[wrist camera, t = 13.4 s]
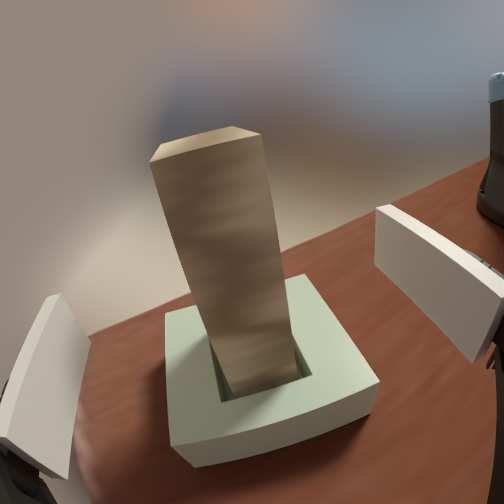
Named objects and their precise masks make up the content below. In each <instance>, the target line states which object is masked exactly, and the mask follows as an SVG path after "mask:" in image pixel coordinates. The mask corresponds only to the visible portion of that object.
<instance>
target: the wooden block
mask: <svg viewBox="0 0 504 504" xmlns="http://www.w3.org/2000/svg"><path fill="white" fill-rule="evenodd" d="M150 167H151V170H152V174H153V177H154V181H155V184H156V187H157V191H158V194H159V197H160V201H161V204H162V207H163V210H164V213H165V217H166V220H167V223H168V226H169V229H170V232H171V236H172V239H173V242H174V244H175V248H176V250H177V253H178V256H179V259H180V262H181V265H182V268H183V271H184V273H185V276H186V279H187V282H188V285H189V287H190V290H191V293H192V295H193V298H194V301H195V303H196V306H197V309H198V311H199V314H200V316H201V319H202V322H203V324H204V327H205V329H206V332H207V334H208V337H209V339H210V342H211V344H212V347H213V349H214V351H215V354H216V356H217V359H218V361H219V363H220V366H221V368H222V370H223V373H224V375H225V377H226V380H227V382H228V384H229V386H230V389H231V391H232V393H233V395H234V398H235V399H238V398H241V397H245V396H249V395H252V394H256V393H259V392H263V391H266V390H269V389H272V388H276V387H279V386H282V385H285V384H288V383H291V382H294V381H297V380H298V377H297V369H296V361H295V353H294V345H293V337H292V330H291V322H290V315H289V308H288V301H287V293H286V286H285V280H284V273H283V266H282V259H281V253H280V247H279V240H278V233H277V227H276V221H275V215H274V208H273V202H272V197H271V191H270V184H269V178H268V173H267V168H266V161H265V156H264V150H263V145H262V139H261V135H260V134H258V133H254V132H251V131H247V130H244V129H240V128H237V127H233V126H232V127H227V128H223V129H218V130H214V131H210V132H205V133H201V134H197V135H193V136H190V137H186V138H182V139H178V140H175V141H171V142H168V143H164V144H161V145H160V147H159V148H158V150H157V151H156V153H155V154H154V156H153V157H152V159H151V161H150Z"/></svg>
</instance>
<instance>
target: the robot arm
mask: <svg viewBox="0 0 504 504" xmlns="http://www.w3.org/2000/svg"><path fill="white" fill-rule="evenodd" d="M488 84H489V100H488V103H490V160H489V164H488V167H487V169H486V172H485V175H484V177H483V180H482V182H481V185H480V187H479V190H478V194H477V203H476V204H477V207H478V209H479V210H480V212H481V213H482V214H483V215H485V216H486V217H487V218H489V219H490V220H492V221H493V222H495V223H497V224H499V225H501V226H503V227H504V73H495V74H493V75H492V76H491V77H490V78H489V83H488ZM374 265H375V266H377V267H378V268H379V269H380V270H381V271H382V272H383V273H384V274H385V275H386V276H387V277H388V278H389V279H390V280H391V281H392V282H393V283H395V284H396V285H397V286H398V287H399V288H400V289H401V290H402V291H403V292H404V293H405V294H406V295H407V296H408V297H409V298H410V299H411V300H412V301H413V302H414V303H415V304H416V305H417V306H418V307H419V308H420V309H421V310H422V311H423V312H424V313H425V314H426V315H427V316H428V317H429V318H430V319H431V320H432V321H433V322H434V323H435V324H436V325H437V327H438V328H439V329H440V330H441V331H442V332H443V333H444V334H445V335H446V336H447V337H448V338H449V339H450V340H451V341H452V343H453V344H454V345H455V346H456V347H457V348H458V349H459V350H460V351H461V352H462V353H463V355H464V356H465V357H466V358H467V359H468V360H469V361H470V362H471V364H473V363H474V362H476V361H477V360H478V359H480V358H481V357H482V356H483V355H485V354H486V352H487V350H488V348H489V346H490V344H491V342H492V341H493V342H494V343H495V344H496V347H495V349H494V351H493V353H492V355H491V357H490V358H489V360H488V362H487V364H486V369H489V367H490V365H491V364H492V362H493V360H494V361H495V363H494V365H493V367H492V369H495V373H496V392H497V425H496V443H495V455H494V464H493V472H492V479H491V485H490V490H489V496H488V501H487V504H504V275H502V274H501V273H500V272H498V271H497V270H496V269H494V268H493V267H492V268H491V266H490V265H489V264H488V263H486V262H485V261H484V262H483V260H482V259H481V258H479V257H478V256H476V255H475V254H474V253H472V252H469V251H467V250H464V249H462V248H459V247H458V246H457V245H455V244H454V243H452V242H451V241H449V240H448V239H446V238H445V237H443V236H441V235H440V234H438V233H437V232H435V231H434V230H432V229H431V228H429V227H427V226H426V225H424V224H423V223H421V222H419V221H418V220H416V219H414V218H413V217H411V216H409V215H408V214H406V213H404V212H403V211H401V210H399V209H397V208H396V207H394V206H392V205H391V204H389V205H385V206H381V207H377V208H376V229H375V259H374ZM90 344H91V342H90V340H89V339H88V337H87V336H86V334H85V333H84V331H83V329H82V328H81V326H80V325H79V323H78V322H77V320H76V318H75V317H74V315H73V313H72V312H71V310H70V308H69V307H68V305H67V303H66V302H65V300H64V298H63V296H62V295H61V293H59V294H56V295H52V296H49V297H47V298H46V300H45V302H44V304H43V306H42V308H41V310H40V312H39V314H38V315H37V317H36V319H35V321H34V323H33V325H32V327H31V329H30V332H29V334H28V336H27V338H26V340H25V342H24V344H23V347H22V349H21V351H20V354H19V356H18V358H17V361H16V363H15V366H14V368H13V370H12V373H11V376H10V378H9V379H8V381H7V382H6V384H5V386H4V389H3V392H2V397H1V398H0V504H57V502H56V500H55V499H54V497H53V495H52V494H51V492H50V490H49V488H48V487H47V485H46V483H45V482H44V481H43V479H41V478H40V477H39V471H41V472H42V473H44V474H45V475H47V476H49V477H50V478H55V479H62V480H68V471H69V460H70V450H71V442H72V434H73V427H74V421H75V415H76V409H77V403H78V398H79V393H80V388H81V383H82V378H83V373H84V369H85V365H86V360H87V356H88V352H89V348H90Z"/></svg>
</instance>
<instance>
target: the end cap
mask: <svg viewBox="0 0 504 504" xmlns="http://www.w3.org/2000/svg"><path fill="white" fill-rule="evenodd" d="M285 286H286V293H287V301H288V308H289V315H290V322H291V330H292V337H293V345H294V353H295V361H296V369H297V377H298V380H297V381H294V382H291V383H288V384H285V385H282V386H279V387H276V388H272V389H269V390H266V391H263V392H259V393H256V394H252V395H249V396H245V397H241V398H238V399H235V398H234V395H233V393H232V391H231V389H230V386H229V384H228V382H227V380H226V377H225V375H224V373H223V370H222V368H221V366H220V363H219V361H218V359H217V356H216V354H215V351H214V349H213V347H212V344H211V342H210V339H209V337H208V334H207V332H206V329H205V327H204V324H203V322H202V319H201V316H200V314H199V311H198V309H197V306H196V305H195V306H191V307H187V308H183V309H180V310H176V311H172V312H168V313H165V358H166V388H167V407H168V422H169V434H170V445H171V447H172V448H173V449H174V450H175V451H176V452H177V453H179V454H180V455H181V456H182V457H183V458H184V459H185V460H186V461H188V462H189V463H190V464H191V465H192V466H193V467H195V468H197V467H203V466H209V465H214V464H220V463H224V462H229V461H234V460H238V459H242V458H247V457H251V456H254V455H258V454H262V453H266V452H269V451H273V450H276V449H279V448H283V447H286V446H289V445H292V444H295V443H298V442H301V441H304V440H307V439H310V438H313V437H315V436H318V435H321V434H323V433H326V432H328V431H331V430H333V429H336V428H338V427H341V426H343V425H346V424H348V423H350V422H352V421H355V420H357V419H359V418H361V417H364V416H366V415H368V414H370V413H371V411H372V407H373V404H374V401H375V397H376V394H377V390H378V387H379V383H380V381H379V380H378V378H377V377H376V375H375V374H374V372H373V371H372V369H371V368H370V366H369V365H368V363H367V362H366V360H365V359H364V357H363V356H362V355H361V353H360V352H359V350H358V349H357V347H356V346H355V344H354V343H353V341H352V340H351V339H350V337H349V336H348V334H347V333H346V331H345V330H344V329H343V327H342V326H341V324H340V323H339V321H338V320H337V319H336V317H335V316H334V314H333V313H332V311H331V310H330V309H329V307H328V306H327V304H326V303H325V302H324V300H323V299H322V297H321V296H320V295H319V293H318V292H317V290H316V289H315V288H314V286H313V285H312V283H311V282H310V281H309V279H308V278H307V277H306V275H305V274H302V275H299V276H296V277H292V278H289V279H286V280H285Z"/></svg>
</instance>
